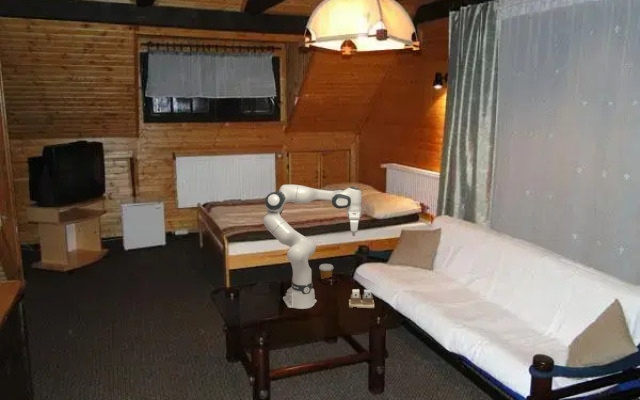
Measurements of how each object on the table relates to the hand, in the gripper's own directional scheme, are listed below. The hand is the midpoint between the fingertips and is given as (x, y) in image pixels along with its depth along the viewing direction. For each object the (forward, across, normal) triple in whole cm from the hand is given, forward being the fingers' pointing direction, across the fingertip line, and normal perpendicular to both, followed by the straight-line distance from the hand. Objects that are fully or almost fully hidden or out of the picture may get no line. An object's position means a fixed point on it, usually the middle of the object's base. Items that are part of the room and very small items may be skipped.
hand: (353, 235), depth 325 cm
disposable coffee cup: (+39, -21, -17) cm, 48 cm away
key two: (+37, +15, +9) cm, 41 cm away
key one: (+37, +15, +2) cm, 40 cm away
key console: (+39, +14, +5) cm, 42 cm away
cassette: (+40, -14, -33) cm, 53 cm away
